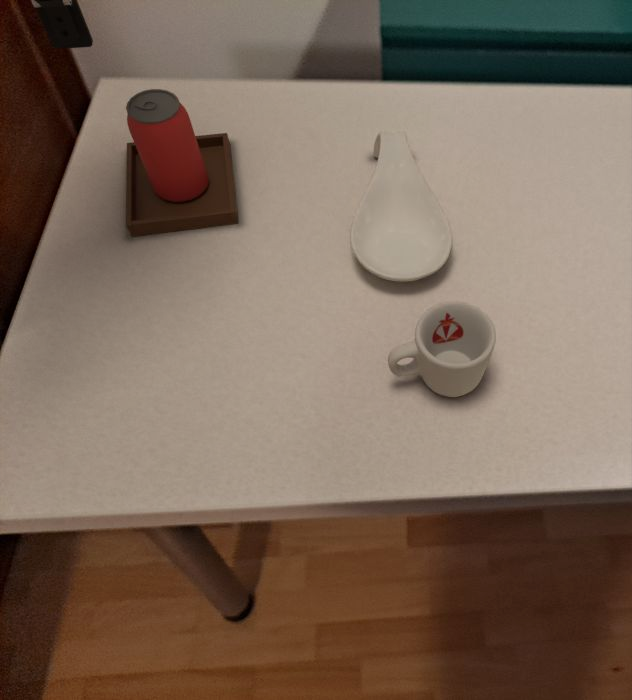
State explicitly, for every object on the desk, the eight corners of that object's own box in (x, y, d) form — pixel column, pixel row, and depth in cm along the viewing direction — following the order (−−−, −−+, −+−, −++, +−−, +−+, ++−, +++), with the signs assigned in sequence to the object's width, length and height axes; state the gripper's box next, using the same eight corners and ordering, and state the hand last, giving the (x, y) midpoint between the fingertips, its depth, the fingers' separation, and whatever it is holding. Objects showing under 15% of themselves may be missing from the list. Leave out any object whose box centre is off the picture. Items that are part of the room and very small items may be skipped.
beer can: (162, 165, 87) (131, 82, 77) (215, 169, 87) (190, 88, 77) (147, 202, 83) (112, 121, 73) (202, 207, 83) (175, 126, 73)
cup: (397, 419, 70) (396, 380, 64) (381, 355, 74) (379, 312, 68) (497, 398, 73) (506, 358, 66) (476, 337, 77) (483, 294, 70)
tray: (131, 237, 81) (125, 225, 79) (131, 155, 88) (126, 142, 86) (238, 223, 83) (235, 211, 81) (230, 144, 90) (227, 132, 89)
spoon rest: (456, 293, 80) (461, 252, 74) (354, 300, 78) (351, 259, 72) (432, 153, 92) (434, 109, 86) (344, 156, 91) (340, 111, 85)
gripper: (-61, -267, 51) (38, -35, 66) (-104, -169, 42) (22, 76, 57) (48, -265, 53) (122, -38, 67) (29, -170, 44) (119, 69, 58)
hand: (76, 14), depth 62 cm, fingers open, 9 cm apart
